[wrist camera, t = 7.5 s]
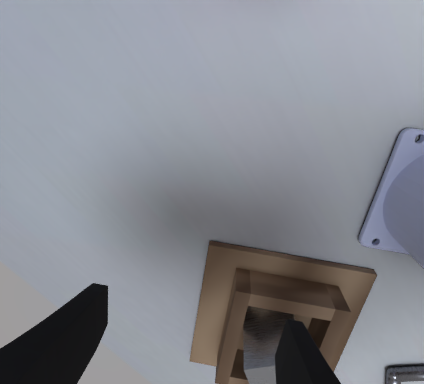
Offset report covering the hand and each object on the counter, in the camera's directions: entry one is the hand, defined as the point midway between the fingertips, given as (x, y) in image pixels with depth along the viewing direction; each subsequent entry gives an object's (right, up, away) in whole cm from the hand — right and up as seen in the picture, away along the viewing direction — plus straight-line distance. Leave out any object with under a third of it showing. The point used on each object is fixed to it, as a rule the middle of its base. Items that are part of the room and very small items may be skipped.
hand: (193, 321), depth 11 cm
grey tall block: (+6, -5, +11) cm, 13 cm away
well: (+6, -5, +12) cm, 14 cm away
